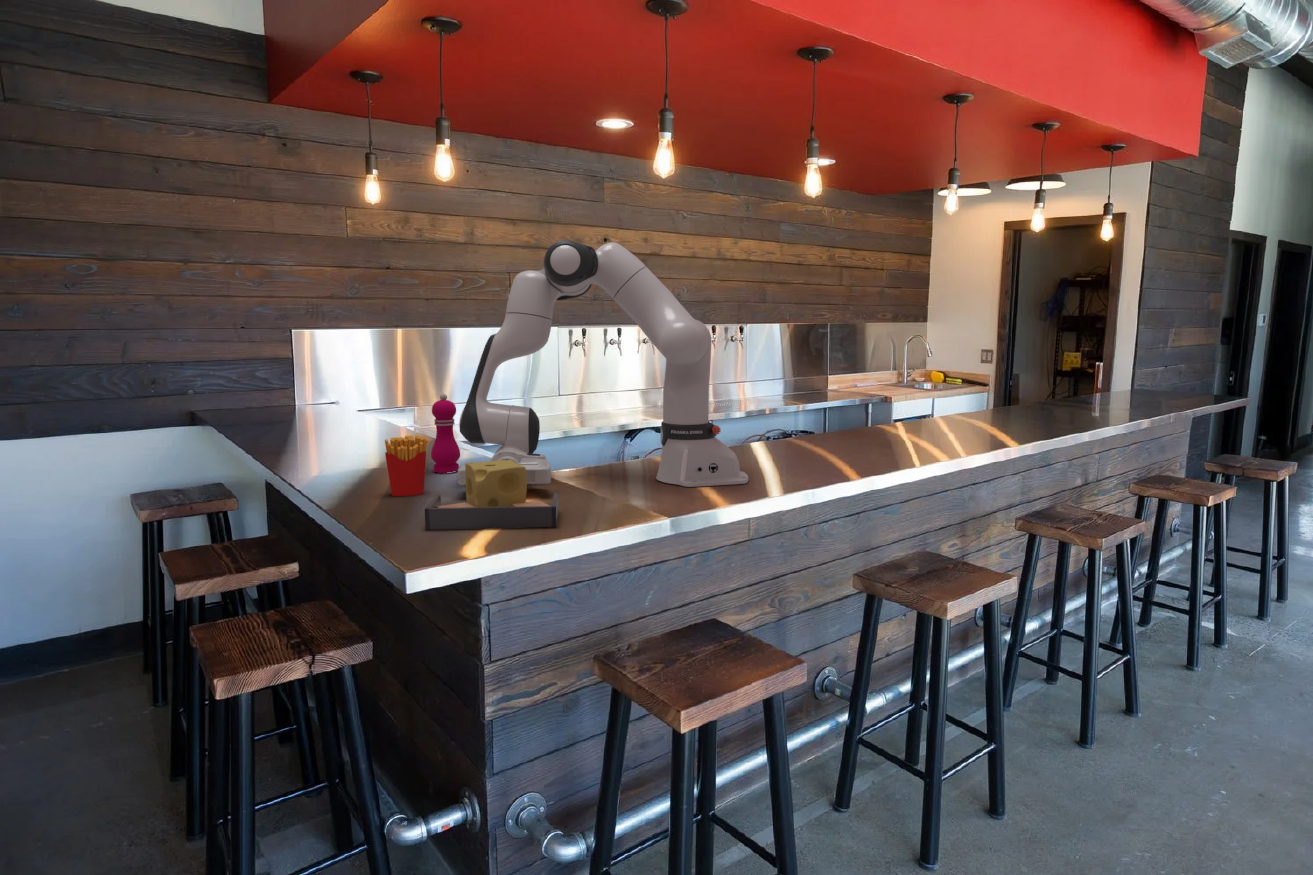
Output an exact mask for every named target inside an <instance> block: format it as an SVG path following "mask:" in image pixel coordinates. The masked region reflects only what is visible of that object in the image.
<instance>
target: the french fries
mask: <svg viewBox="0 0 1313 875" xmlns="http://www.w3.org/2000/svg"><path fill="white" fill-rule="evenodd" d="M389 439H390V440H388V439H384V444H385V448H386V449H385V450H386V451H385V452H384V454H385V460H386V467H387V474H388V479H389V480H388V481H389V486H390V492H391V497H408V496H420V495H423V493H424V492H425V480H426V478H425V477H426V459H427V458H426V457H427V451H426V450H427V446H428V442H429V440H428V438H427V437H426V436H424V437H423V436H420V435H415V436H413V435H404V437H401V436H400V437H397V436H395V437H390V438H389ZM389 441H390V442H389Z"/></svg>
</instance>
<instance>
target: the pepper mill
mask: <svg viewBox="0 0 1313 875" xmlns="http://www.w3.org/2000/svg"><path fill="white" fill-rule="evenodd" d="M439 399H440V400H437V401H435V402H434V403H433V405H432V406H431V414H432V416H433V417H434V418H435V419H434V421H433V422H434V425H435V427H436V428H435V429H436V433H435V434H436V435H435V440H434V443H433V445H432V447H431V452H430V453H431V454H430V457H431V460H432V461H433V462H434V463H435V464H433V473H435V472H438V473H437V474H439V473H447V472H453V471H458V469H459V468H460V467H459V466H460V465H459V463H457V462H458V461H459V459H460V457H461V450H460V447H459V445H458V443H457V441H456V438H455V434H454V425H455V418H454V417H455V415H456V414H457V407H456V405H455V403H454V402H453V401H451V400H450V399H449V400H448V395H447V394H445V393H441V394H440V395H439Z"/></svg>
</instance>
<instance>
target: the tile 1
mask: <svg viewBox="0 0 1313 875" xmlns="http://www.w3.org/2000/svg"><path fill="white" fill-rule="evenodd" d="M462 507H474V506H472V505H470V504H468V503H467V501H466V502H459V503H458V502H457V503H452V504H445V505H441V506H437V508H462Z"/></svg>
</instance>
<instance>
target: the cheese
mask: <svg viewBox="0 0 1313 875" xmlns="http://www.w3.org/2000/svg"><path fill="white" fill-rule="evenodd" d="M464 465H465V477H466V485H465V496H466V498H465V499H466V503H468V504H470V505H472V506H474V507H511V504H515V503H523V502H527V501H526V499H527V493H528V484H527V477H526V469H525V467H524V466H522V465H519V464H516V463H515V462H513V461H512V460H500V461H490V460H489V461H481V462H480V461H479V462H466V463H465V464H464Z"/></svg>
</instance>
